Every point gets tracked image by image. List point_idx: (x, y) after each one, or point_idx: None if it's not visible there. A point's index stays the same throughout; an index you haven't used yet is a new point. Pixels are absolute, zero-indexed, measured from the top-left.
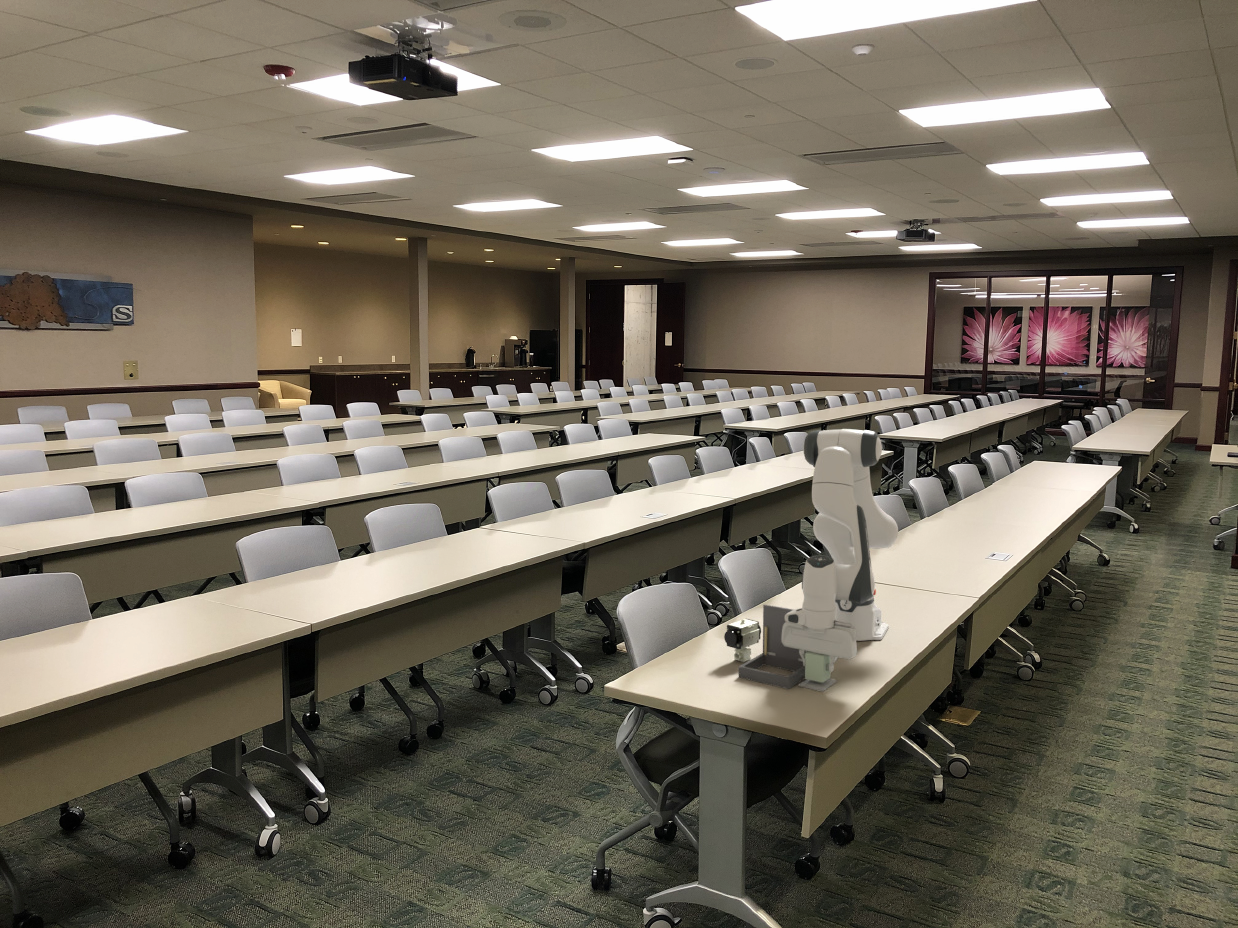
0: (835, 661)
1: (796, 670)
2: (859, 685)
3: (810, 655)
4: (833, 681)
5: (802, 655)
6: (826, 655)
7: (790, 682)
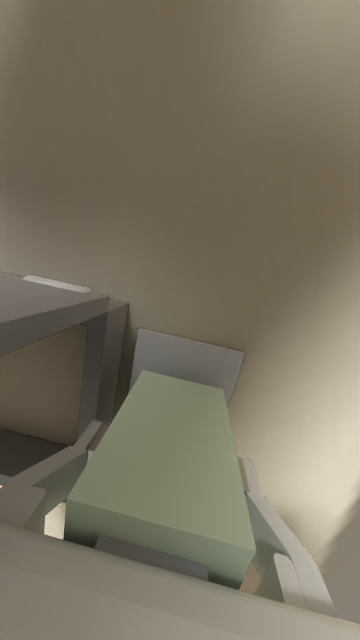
0: (283, 525)
1: (79, 429)
2: (340, 361)
3: None
4: (233, 373)
5: (47, 511)
6: None
7: None
